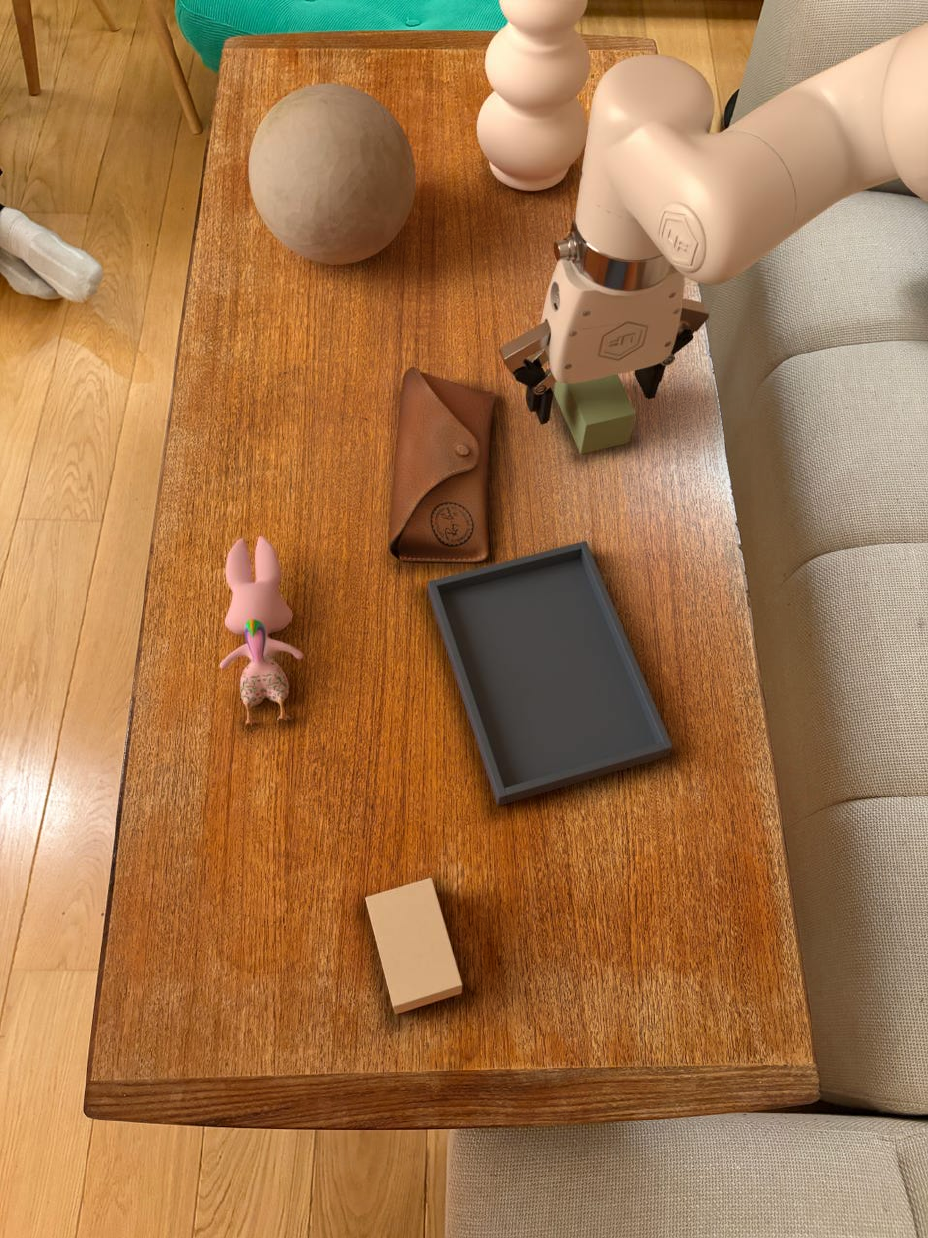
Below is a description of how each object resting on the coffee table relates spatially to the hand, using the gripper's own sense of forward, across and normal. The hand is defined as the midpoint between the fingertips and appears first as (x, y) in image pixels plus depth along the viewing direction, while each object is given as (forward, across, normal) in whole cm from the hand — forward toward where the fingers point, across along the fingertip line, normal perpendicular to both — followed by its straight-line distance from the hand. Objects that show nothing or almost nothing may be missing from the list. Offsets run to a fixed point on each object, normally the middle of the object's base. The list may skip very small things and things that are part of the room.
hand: (591, 398), depth 87 cm
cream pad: (+2, -27, -39) cm, 48 cm away
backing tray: (+2, -12, -22) cm, 25 cm away
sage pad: (+2, 0, 0) cm, 2 cm away
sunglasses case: (+2, -14, -2) cm, 14 cm away
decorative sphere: (+3, -16, +27) cm, 31 cm away
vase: (+3, +5, +32) cm, 32 cm away
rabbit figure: (+2, -32, -13) cm, 35 cm away
